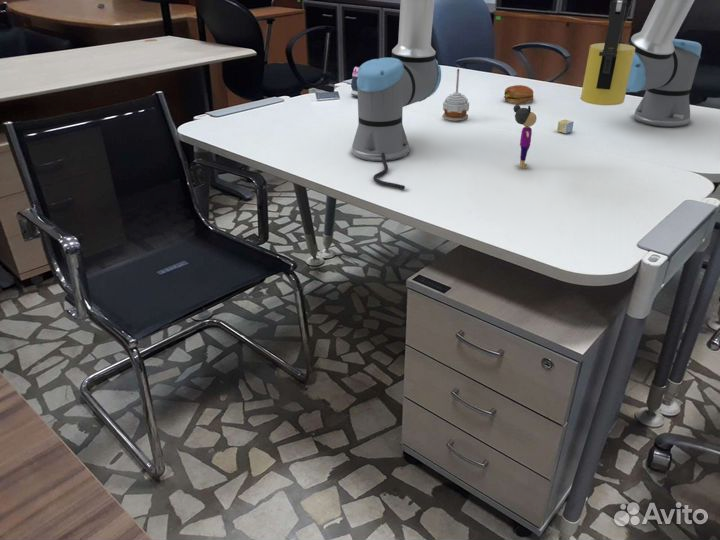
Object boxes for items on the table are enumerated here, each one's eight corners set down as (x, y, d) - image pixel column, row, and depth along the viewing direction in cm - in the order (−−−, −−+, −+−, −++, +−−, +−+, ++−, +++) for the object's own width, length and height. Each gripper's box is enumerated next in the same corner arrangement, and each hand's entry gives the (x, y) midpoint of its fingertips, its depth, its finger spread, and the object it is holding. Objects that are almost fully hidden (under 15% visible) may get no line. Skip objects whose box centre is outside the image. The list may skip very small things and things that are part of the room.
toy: (530, 174, 138) (539, 113, 130) (507, 173, 139) (514, 112, 131) (528, 159, 147) (536, 101, 139) (506, 158, 148) (513, 100, 140)
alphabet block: (565, 133, 164) (567, 123, 162) (556, 131, 166) (558, 121, 164) (572, 131, 165) (574, 121, 164) (563, 129, 168) (565, 119, 166)
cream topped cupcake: (469, 115, 182) (472, 66, 174) (466, 122, 175) (469, 72, 168) (444, 114, 184) (447, 66, 176) (441, 121, 177) (443, 71, 169)
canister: (577, 94, 129) (586, 42, 123) (618, 95, 128) (629, 42, 122) (585, 105, 122) (595, 50, 116) (628, 105, 120) (640, 50, 115)
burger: (537, 99, 196) (538, 85, 194) (525, 105, 190) (527, 91, 188) (510, 95, 202) (511, 82, 199) (498, 101, 195) (499, 87, 193)
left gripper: (647, -31, 101) (620, 97, 113) (651, -38, 118) (626, 74, 130) (602, -32, 104) (580, 93, 116) (612, -38, 121) (592, 71, 133)
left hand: (605, 83), depth 123 cm, fingers closed on canister, 9 cm apart
